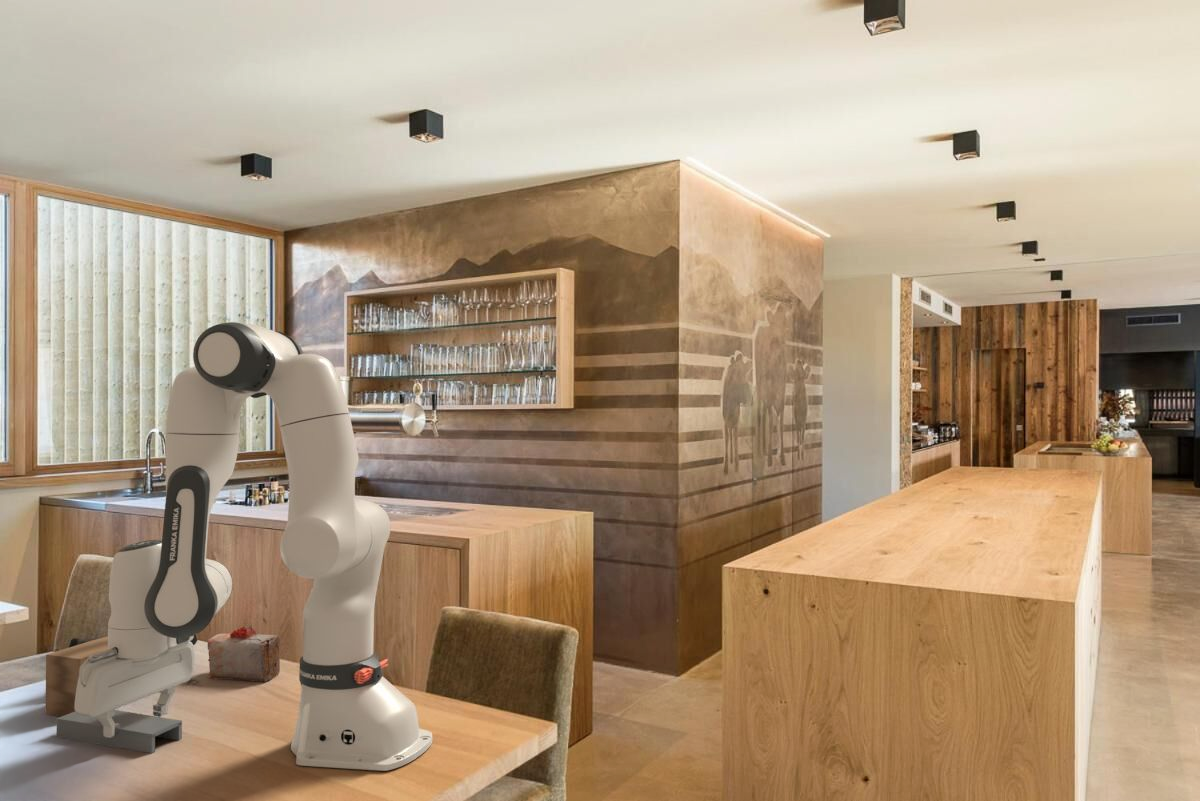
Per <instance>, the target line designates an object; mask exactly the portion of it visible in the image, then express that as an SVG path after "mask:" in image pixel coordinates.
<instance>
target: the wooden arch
mask: <svg viewBox="0 0 1200 801" xmlns="http://www.w3.org/2000/svg"><path fill="white" fill-rule="evenodd" d="M105 636H106V637H103V636H102V637H103V638H99V637H98V638H99V639H96V640H93V641H89V642H86V643H83V644H79V645H76V646H73V647H69V646H68V647H69V648H68V647H67V648H63V649H59V650H57V651H54V652H50V653H46V654H45V711H44V712H45V715H49V716H56V717H62V716H64V715H67V714H70V713H72V712H75V708H74V706H75V695H76V689H77V683H78V679H79V671H80V667H81V665H82V664H83V663H84V662H85V661H86V660H87V659H88V657H89V656H91V655H93V654H98V653H101V652H103V651H106V650H108V636H107V635H105ZM88 663H89V662H88Z"/></svg>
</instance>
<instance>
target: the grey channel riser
mask: <svg viewBox="0 0 1200 801" xmlns="http://www.w3.org/2000/svg"><path fill="white" fill-rule="evenodd" d="M111 718H112V719H113V721H114V723H119V724H120V728H119V730H120V733H119V734H118V735H115V736H113V737H111V738H108V737H105V736H104V735H103V725H102V724H101V722H100V721H99V719H98V718H97V716H96V717H86V716H82V715H79V714H78V713H77V712H76V711H75V712H72V713H70V714H67V715H64V716H62V717H61V716H58V717H57V718H56V738H62V739H63V738H64V739H69V740H73V741H74V740H75V741H80V742H86V743H89V744H90V743H91V744H97V745H102V746H106V747H113V748H120V749H124V750H125V749H126V750H130V751H137V752H141V753H147V752H148V753H149V754H153V753H155V752H156V750H155V749H156V737H158V738H161V739H162V738H163V739H170V740H174V739H176V741H180V740H182V738H183V737H182V736H183V720H181V719H174V718H170V717H169V718H167V717H163V716H160V717H158V716H154V715H150V714H142V713H137V712H130V711H122V710H118V709H115V715H114V716H111Z"/></svg>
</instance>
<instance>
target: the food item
mask: <svg viewBox="0 0 1200 801" xmlns="http://www.w3.org/2000/svg"><path fill="white" fill-rule="evenodd" d="M252 626H253V625H252V624H251V625H249V627H247V628H246V627H245V626H243V627H239V628H237V629H235V630H233V632H231V633H230V632H229V633H219V634H218V633H217V634H216V635H214V636H212V637H211V638H209V639H207V650H208V660H207V661H208V664H209V665H208V666H209V667H208V668H209V679H213V678H217V679H218V680H219V679H220V680H223V679H224V680H235V679H240V681H250V680H255V681H254V682H263V681H264V682H268V681H269V680H272V679H273V678H275V677H277V676H278V675H279V674H280V672H281V671H280V670H281V664H280V658H281V654H280V653H281V637H280V636H279V635H275V634H274V635H273V634H261V633H260V634H259V633H257V632H256V630H255V629H253V628H252ZM276 675H277V676H276ZM274 676H275V677H274ZM271 678H272V679H271ZM217 679H216V680H217ZM267 680H268V681H267Z"/></svg>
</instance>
